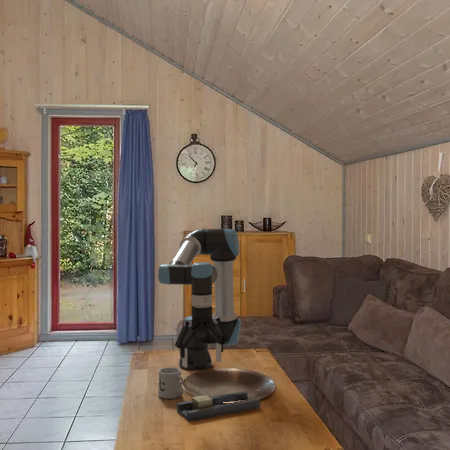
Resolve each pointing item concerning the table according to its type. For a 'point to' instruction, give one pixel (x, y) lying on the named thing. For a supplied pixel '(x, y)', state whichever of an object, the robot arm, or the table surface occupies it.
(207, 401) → the brushed top tan cube
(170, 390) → the mug
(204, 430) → the table surface
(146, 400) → the table surface
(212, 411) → the rail
